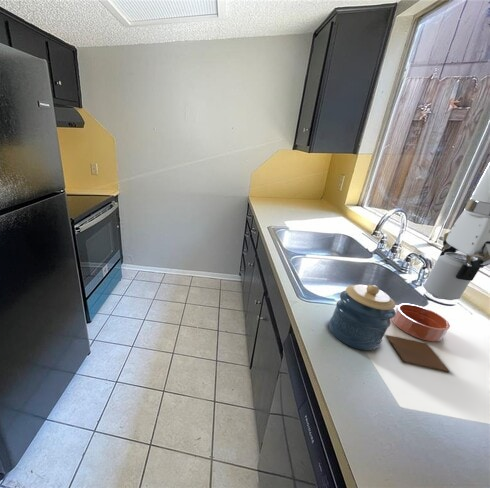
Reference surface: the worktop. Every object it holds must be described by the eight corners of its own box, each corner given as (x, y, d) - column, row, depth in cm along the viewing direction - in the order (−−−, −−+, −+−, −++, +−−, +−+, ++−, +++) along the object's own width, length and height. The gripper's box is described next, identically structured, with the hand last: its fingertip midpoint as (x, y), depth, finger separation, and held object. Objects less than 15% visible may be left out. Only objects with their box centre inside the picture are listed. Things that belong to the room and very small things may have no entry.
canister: (389, 345, 74) (416, 295, 67) (358, 356, 70) (384, 304, 63) (347, 316, 86) (366, 271, 78) (318, 324, 81) (336, 277, 74)
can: (421, 293, 73) (442, 255, 68) (422, 283, 78) (441, 247, 73) (459, 305, 68) (484, 266, 63) (457, 294, 73) (480, 256, 68)
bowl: (426, 320, 86) (433, 308, 84) (451, 346, 75) (460, 333, 73) (384, 312, 89) (390, 300, 87) (403, 336, 78) (410, 323, 76)
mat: (425, 344, 76) (426, 343, 75) (448, 372, 67) (449, 371, 67) (386, 336, 78) (386, 335, 78) (403, 361, 69) (404, 360, 69)
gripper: (544, 222, 54) (496, 292, 61) (480, 202, 69) (448, 260, 77) (498, 217, 56) (457, 285, 63) (446, 199, 71) (417, 255, 79)
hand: (452, 271), depth 70 cm, fingers closed on can, 7 cm apart
